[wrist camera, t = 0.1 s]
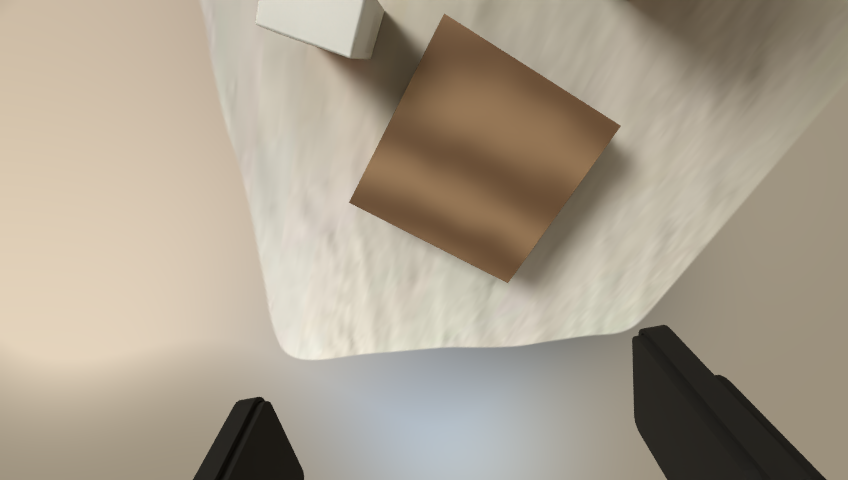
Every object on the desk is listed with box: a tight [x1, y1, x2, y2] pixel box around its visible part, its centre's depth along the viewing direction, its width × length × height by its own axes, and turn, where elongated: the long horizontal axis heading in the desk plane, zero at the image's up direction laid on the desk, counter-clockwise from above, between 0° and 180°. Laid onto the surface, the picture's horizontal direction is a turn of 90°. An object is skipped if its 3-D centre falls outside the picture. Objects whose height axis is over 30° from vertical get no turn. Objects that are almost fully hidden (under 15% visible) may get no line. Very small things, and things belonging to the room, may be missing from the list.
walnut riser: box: [349, 14, 620, 283], centre depth 36 cm, size 16×16×6 cm
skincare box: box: [255, 0, 384, 59], centre depth 29 cm, size 6×4×12 cm
